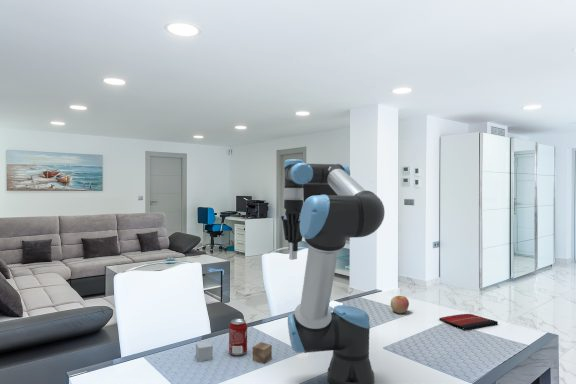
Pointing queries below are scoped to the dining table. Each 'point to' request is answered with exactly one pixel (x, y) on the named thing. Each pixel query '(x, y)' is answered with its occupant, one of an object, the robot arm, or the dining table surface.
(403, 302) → the apple
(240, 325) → the soda can
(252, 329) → the dining table surface
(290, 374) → the dining table surface
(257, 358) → the walnut cube
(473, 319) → the binder
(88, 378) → the dining table surface
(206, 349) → the grey cube
